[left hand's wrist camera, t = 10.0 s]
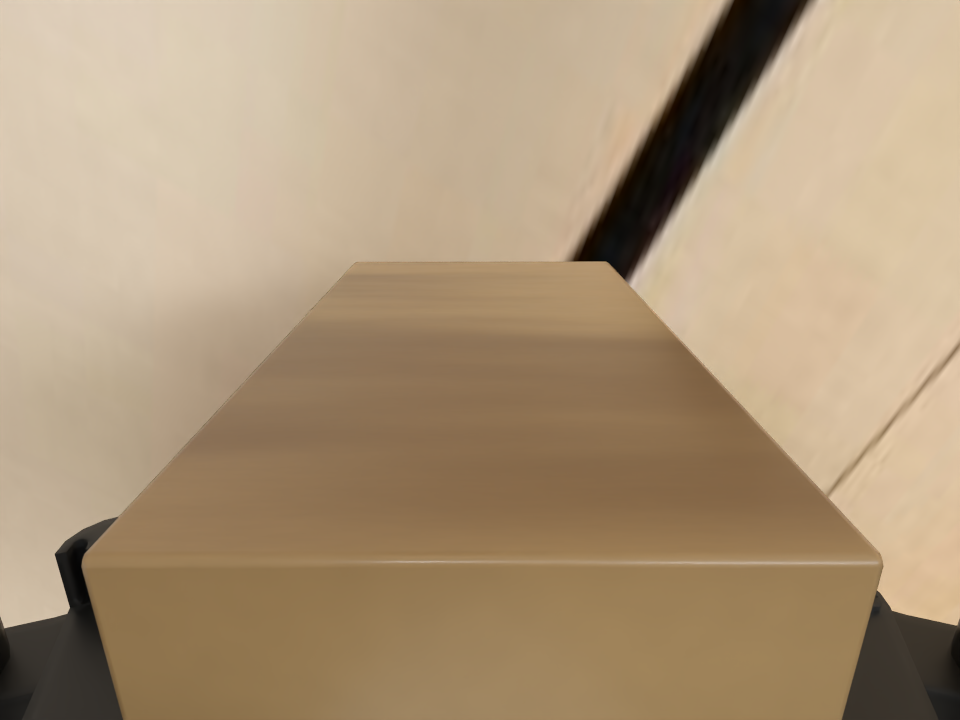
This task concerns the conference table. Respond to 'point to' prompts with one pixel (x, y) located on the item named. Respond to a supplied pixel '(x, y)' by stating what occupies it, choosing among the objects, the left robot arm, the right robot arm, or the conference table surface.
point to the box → (482, 524)
